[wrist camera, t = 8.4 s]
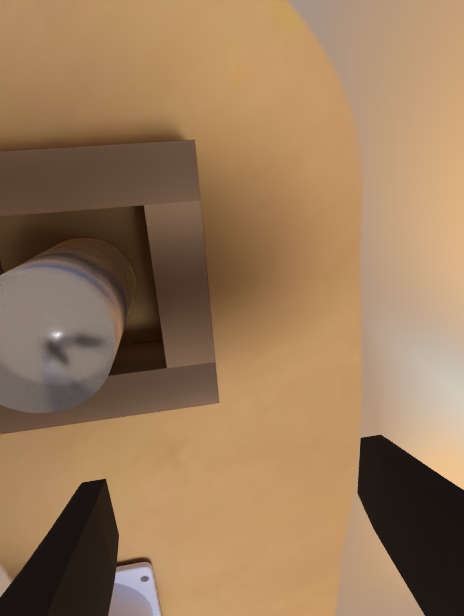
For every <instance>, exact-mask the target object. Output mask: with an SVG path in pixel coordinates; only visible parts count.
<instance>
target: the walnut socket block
mask: <svg viewBox="0 0 464 616" xmlns="http://www.w3.org/2000/svg"><path fill="white" fill-rule="evenodd" d="M140 205H144V211H145V218H146V225H147V232H148V239H149V246H150V253H151V260H152V267H153V273H154V280H155V287H156V294H157V301H158V308H159V315H160V322H161V329H162V336H163V341H157V342H149V343H141V344H132V345H124V346H119V347H118V350H117V352H116V355H115V358H114V361H113V364H112V367H111V370H110V372H109V375H108V377H107V378H106V380H105V382H104V383H103V385H102V386H101V387H100V388H99V390H98V391H97V392H95V393H94V394H93V395H92V396H91V397H90V398H88V399H87V400H85V401H84V402H82V403H80V404H78V405H76V406H74V407H71V408H69V409H65V410H62V411H57V412H51V413H29V412H23V411H18V410H14V409H10V408H7V407H5V406H2V405H0V434H5V433H12V432H19V431H26V430H33V429H40V428H47V427H55V426H62V425H69V424H76V423H83V422H90V421H97V420H104V419H111V418H118V417H125V416H132V415H139V414H146V413H153V412H160V411H167V410H174V409H181V408H188V407H195V406H202V405H209V404H216V403H219V395H218V384H217V374H216V363H215V352H214V341H213V331H212V320H211V309H210V298H209V288H208V277H207V266H206V255H205V245H204V234H203V223H202V212H201V202H200V191H199V180H198V169H197V159H196V148H195V140H181V141H164V142H148V143H131V144H114V145H98V146H81V147H64V148H48V149H31V150H14V151H0V217H1V216H13V215H26V214H39V213H51V212H64V211H77V210H89V209H102V208H115V207H127V206H140ZM2 274H4V273H3V269H2V266H1V262H0V275H2Z"/></svg>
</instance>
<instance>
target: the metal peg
mask: <svg viewBox="0 0 464 616" xmlns="http://www.w3.org/2000/svg"><path fill="white" fill-rule="evenodd" d="M136 289H137V285H136V277H135V274H134V271H133V268H132V266H131V264H130V263H129V261H128V260H127V258H126V257H125V256H124V255H123V254H122V253H121V252H120V251H119V250H118V249H116V248H115V247H114V246H112V245H110V244H108V243H106V242H104V241H101V240H98V239H94V238H85V237H80V238H73V239H69V240H66V241H63V242H61V243H59V244H57V245H55V246H54V247H52V248H50V249H48V250H46V251H44V252H43V253H41V254H39V255H37V256H35V257H33V258H31V259H30V260H28V261H26V262H24V263H22V264H20V265H19V266H17V267H15V268H13V269H11V270H9V271H7V272H6V273H4V274H2V275H0V405H2V406H5V407H7V408H10V409H14V410H18V411H23V412H29V413H51V412H57V411H62V410H65V409H69V408H71V407H74V406H76V405H78V404H80V403H82V402H84V401H85V400H87V399H88V398H90V397H91V396H92V395H93V394H94V393H95V392H97V391H98V390H99V388H100V387H101V386H102V385H103V383H104V382H105V380H106V378H107V377H108V375H109V372H110V370H111V367H112V364H113V361H114V358H115V355H116V352H117V350H118V347H119V344H120V341H121V338H122V335H123V332H124V329H125V326H126V323H127V320H128V317H129V314H130V311H131V308H132V306H133V303H134V300H135V296H136Z"/></svg>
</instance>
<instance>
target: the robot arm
mask: <svg viewBox="0 0 464 616" xmlns="http://www.w3.org/2000/svg"><path fill="white" fill-rule="evenodd" d="M358 495H359V497H360V499H361V501H362V504H363V506H364V509H365V511H366V513H367V515H368V517H369V519H370V522H371V524H372V526H373V528H374V530H375V532H376V534H377V535H378V537H379V539H380V540H381V542H382V544H383V545H384V547H385V549H386V551H387V552H388V554H389V556H390V557H391V559H392V561H393V563H394V564H395V566H396V568H397V569H398V571H399V573H400V574H401V576H402V578H403V579H404V581H405V583H406V584H407V586H408V588H409V589H410V591H411V593H412V594H413V596H414V598H415V600H416V601H417V603H418V605H419V606H420V608H421V610H422V611H423V613H424V615H425V616H464V490H463V489H461V488H459V487H458V486H456V485H455V484H453V483H452V482H450V481H449V480H447V479H445V478H444V477H443V476H441V475H440V474H438V473H437V472H435V471H433V470H432V469H431V468H429V467H428V466H426V465H425V464H423V463H422V462H420V461H419V460H417V459H416V458H414V457H413V456H412V455H410V454H409V453H407V452H406V451H404V450H402V449H401V448H400V447H398V446H397V445H395V444H394V443H393V442H391V441H390V440H388V439H386V438H385V437H383V436H382V435H376V436H370V437H363V438H361V443H360V460H359V478H358ZM118 541H119V533H118V529H117V525H116V521H115V516H114V512H113V508H112V503H111V499H110V495H109V490H108V486H107V482H106V479H102V480H96V481H89V482H83V483H82V484H81V485H80V486H79V487H78V489H77V490H76V492H75V493H74V495H73V496H72V498H71V499H70V501H69V502H68V504H67V506H66V507H65V509H64V510H63V512H62V513H61V515H60V516H59V518H58V519H57V520H56V522H55V523H54V525H53V526H52V528H51V529H50V531H49V532H48V534H47V535H46V536H45V538H44V539H43V541H42V542H41V543H40V545H39V546H38V548H37V549H36V551H35V552H34V553H33V555H32V556H31V558H30V559H29V560H28V562H27V563H26V564H25V566H24V567H23V569H22V570H21V571H20V573H19V574H18V575H17V576H16V578H15V579H14V580H13V582H12V583H11V584H10V585H9V587H8V588H7V589H6V591H5V592H4V593H3V595H2V596H1V597H0V616H162V615H161V610H160V605H159V600H158V594H157V589H156V584H155V579H154V574H153V569H152V566H151V564H150V563H148V562H140V563H135V564H129V565H124V566H119V567H116V565H117V553H118Z"/></svg>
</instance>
